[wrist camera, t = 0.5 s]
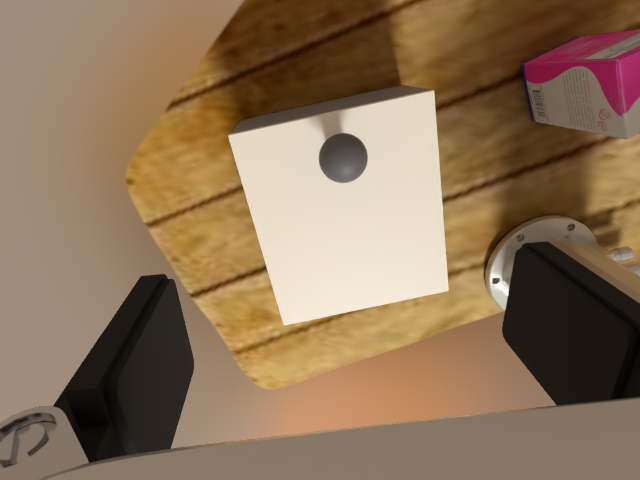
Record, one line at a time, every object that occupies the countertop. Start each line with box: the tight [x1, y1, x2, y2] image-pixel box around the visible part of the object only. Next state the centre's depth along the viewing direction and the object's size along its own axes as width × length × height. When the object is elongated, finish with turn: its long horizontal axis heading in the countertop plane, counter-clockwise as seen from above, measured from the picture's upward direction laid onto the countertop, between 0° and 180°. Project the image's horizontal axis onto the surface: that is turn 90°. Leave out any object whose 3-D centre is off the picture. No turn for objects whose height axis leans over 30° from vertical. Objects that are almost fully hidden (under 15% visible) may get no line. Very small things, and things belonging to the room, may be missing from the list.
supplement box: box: [521, 29, 640, 139], centre depth 31 cm, size 6×6×12 cm
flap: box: [228, 90, 449, 325], centre depth 29 cm, size 15×17×6 cm
